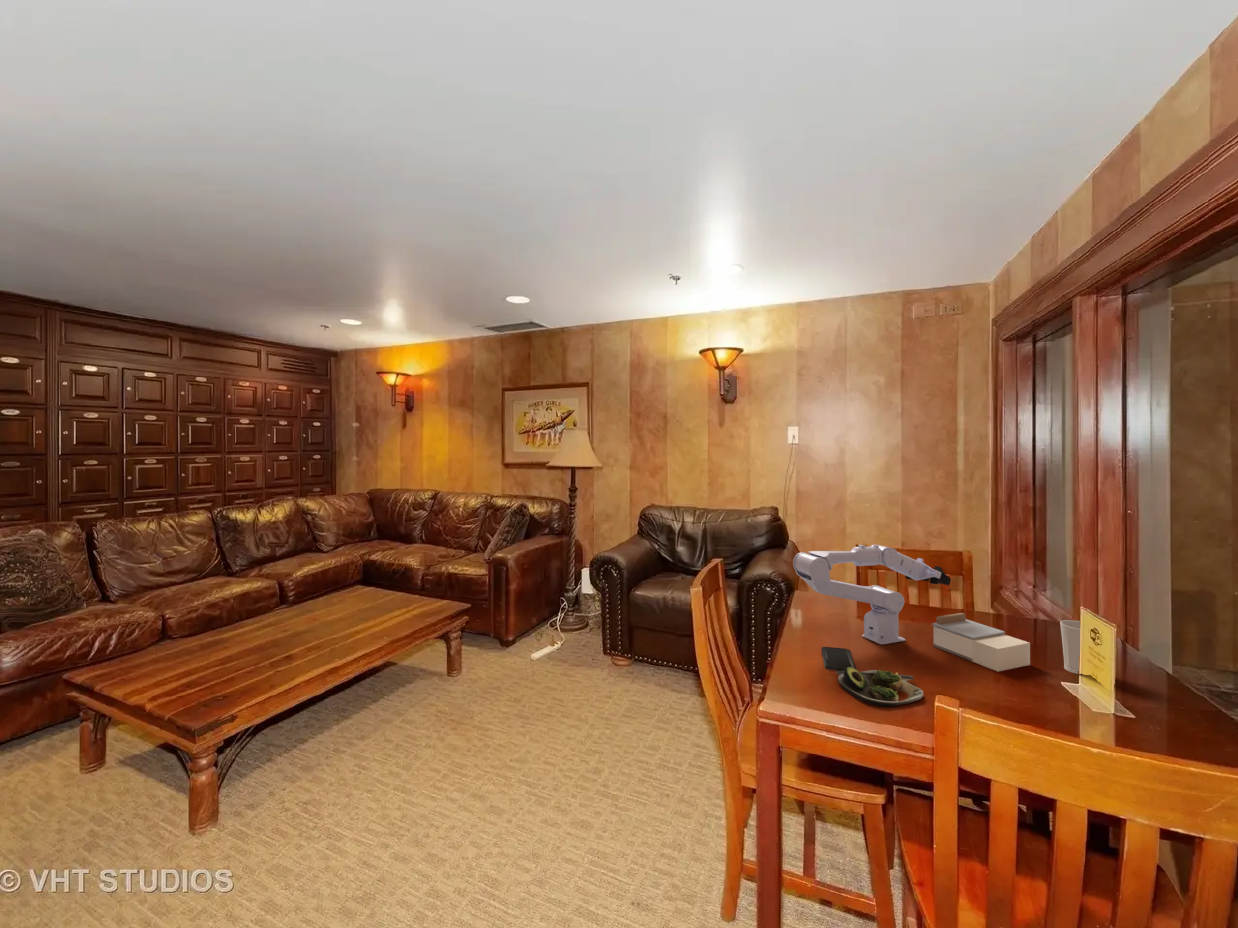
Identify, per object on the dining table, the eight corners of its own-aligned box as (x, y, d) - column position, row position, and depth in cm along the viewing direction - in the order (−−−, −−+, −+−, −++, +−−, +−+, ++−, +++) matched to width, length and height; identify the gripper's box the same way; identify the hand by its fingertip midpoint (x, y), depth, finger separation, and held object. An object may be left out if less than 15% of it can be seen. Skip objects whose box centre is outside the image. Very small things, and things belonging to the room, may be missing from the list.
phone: (849, 648, 152) (856, 669, 137) (849, 652, 152) (856, 673, 137) (820, 646, 154) (824, 666, 140) (821, 650, 154) (824, 670, 140)
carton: (997, 671, 136) (997, 648, 136) (933, 646, 154) (933, 626, 154) (1030, 664, 140) (1030, 642, 140) (963, 640, 158) (963, 621, 158)
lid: (972, 639, 142) (972, 630, 142) (932, 625, 154) (932, 616, 154) (1004, 633, 146) (1004, 624, 146) (963, 619, 158) (963, 611, 158)
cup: (1093, 667, 137) (1093, 622, 137) (1106, 679, 130) (1106, 631, 130) (1055, 662, 141) (1055, 618, 141) (1066, 674, 134) (1066, 627, 133)
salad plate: (889, 670, 139) (889, 653, 139) (945, 701, 122) (945, 681, 121) (825, 679, 135) (825, 661, 134) (874, 712, 117) (873, 692, 117)
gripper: (928, 555, 156) (962, 571, 159) (891, 551, 170) (923, 565, 173) (922, 578, 155) (956, 593, 158) (885, 571, 169) (917, 585, 172)
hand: (938, 579), depth 165 cm, fingers open, 7 cm apart
